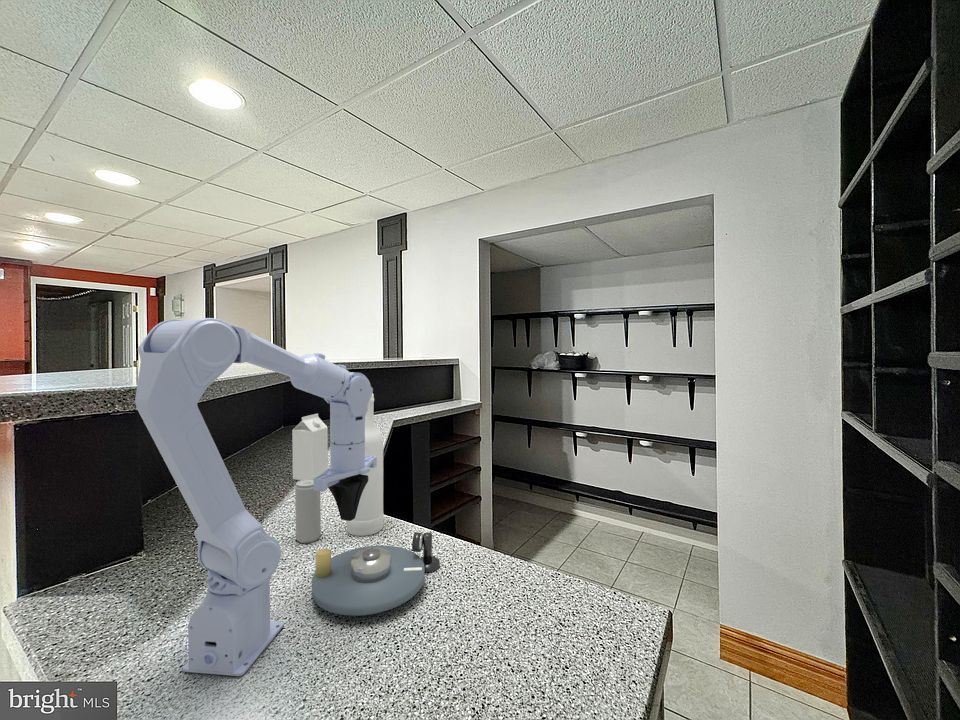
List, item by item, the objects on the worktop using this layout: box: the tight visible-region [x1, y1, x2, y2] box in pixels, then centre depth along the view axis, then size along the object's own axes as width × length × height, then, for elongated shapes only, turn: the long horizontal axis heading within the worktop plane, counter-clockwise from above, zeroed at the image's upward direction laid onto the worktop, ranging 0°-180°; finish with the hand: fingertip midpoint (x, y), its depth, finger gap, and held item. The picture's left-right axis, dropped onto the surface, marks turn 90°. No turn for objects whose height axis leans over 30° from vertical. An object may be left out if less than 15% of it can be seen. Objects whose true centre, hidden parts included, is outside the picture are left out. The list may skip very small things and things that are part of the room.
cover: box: [351, 547, 391, 583], centre depth 69 cm, size 6×6×3 cm
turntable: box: [311, 544, 425, 617], centre depth 69 cm, size 18×18×5 cm
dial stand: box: [411, 531, 441, 573], centre depth 76 cm, size 5×4×7 cm
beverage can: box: [294, 479, 322, 544], centre depth 87 cm, size 5×5×12 cm
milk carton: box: [291, 413, 329, 481], centre depth 126 cm, size 7×7×19 cm
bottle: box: [345, 392, 385, 537], centre depth 91 cm, size 8×8×30 cm
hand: (348, 518), depth 72 cm, fingers closed
